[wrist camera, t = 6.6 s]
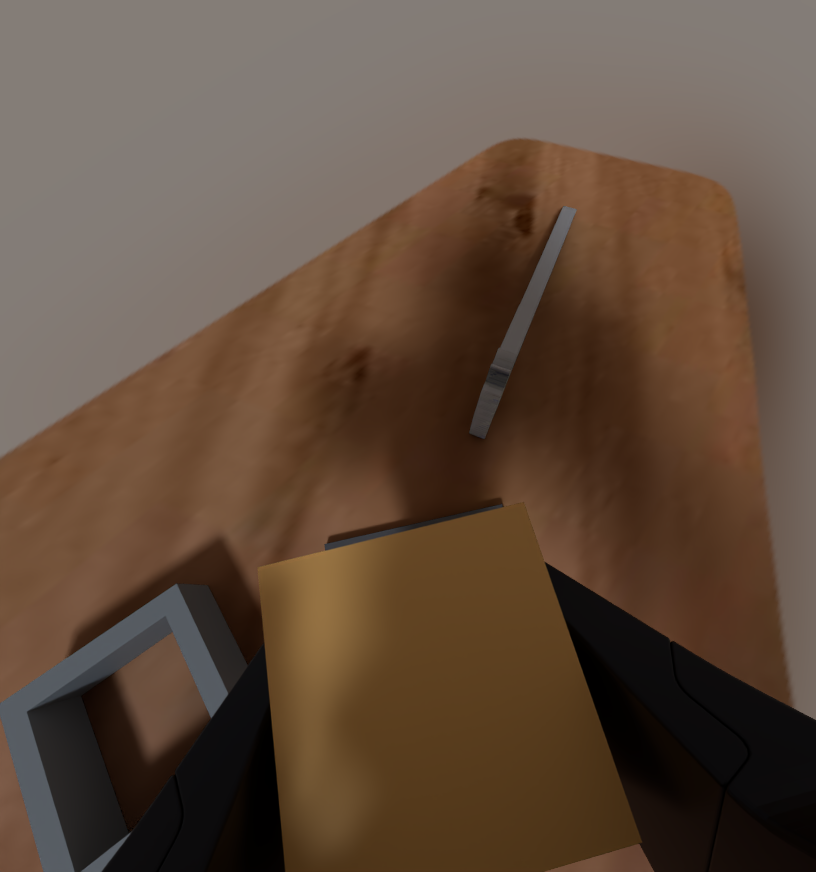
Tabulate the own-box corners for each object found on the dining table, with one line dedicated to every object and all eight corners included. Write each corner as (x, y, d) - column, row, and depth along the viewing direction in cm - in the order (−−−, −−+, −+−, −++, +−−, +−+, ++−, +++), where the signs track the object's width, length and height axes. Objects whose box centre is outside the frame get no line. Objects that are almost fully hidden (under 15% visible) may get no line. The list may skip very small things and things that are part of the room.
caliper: (484, 443, 25) (502, 396, 19) (467, 437, 25) (480, 389, 19) (574, 214, 31) (609, 127, 26) (561, 211, 32) (592, 123, 26)
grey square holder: (284, 739, 19) (260, 763, 17) (115, 874, 18) (58, 925, 15) (207, 585, 22) (176, 583, 19) (55, 690, 21) (-3, 705, 18)
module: (505, 689, 14) (641, 842, 5) (376, 723, 14) (291, 945, 5) (467, 556, 16) (523, 502, 7) (352, 585, 15) (258, 567, 7)
